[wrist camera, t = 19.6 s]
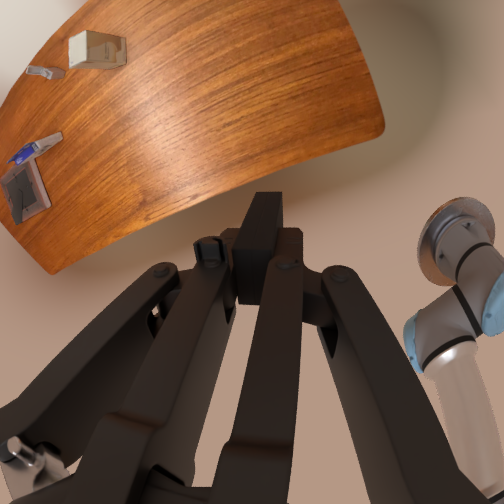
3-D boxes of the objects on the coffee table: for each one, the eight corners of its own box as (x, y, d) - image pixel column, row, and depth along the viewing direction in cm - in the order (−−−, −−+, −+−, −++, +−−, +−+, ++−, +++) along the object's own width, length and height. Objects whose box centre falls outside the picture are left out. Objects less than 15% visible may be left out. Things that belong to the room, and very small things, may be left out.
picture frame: (21, 222, 64) (52, 205, 58) (16, 225, 62) (46, 209, 56) (3, 177, 56) (32, 150, 51) (-2, 180, 54) (26, 153, 49)
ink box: (40, 156, 51) (8, 171, 42) (37, 148, 50) (5, 163, 41) (64, 139, 48) (29, 152, 39) (61, 130, 47) (26, 143, 38)
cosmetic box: (127, 63, 39) (86, 61, 29) (109, 70, 40) (68, 70, 29) (125, 36, 36) (85, 28, 25) (108, 42, 36) (67, 38, 26)
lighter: (65, 71, 40) (40, 73, 33) (63, 78, 40) (38, 81, 34) (50, 63, 38) (26, 65, 31) (48, 69, 39) (23, 72, 32)
